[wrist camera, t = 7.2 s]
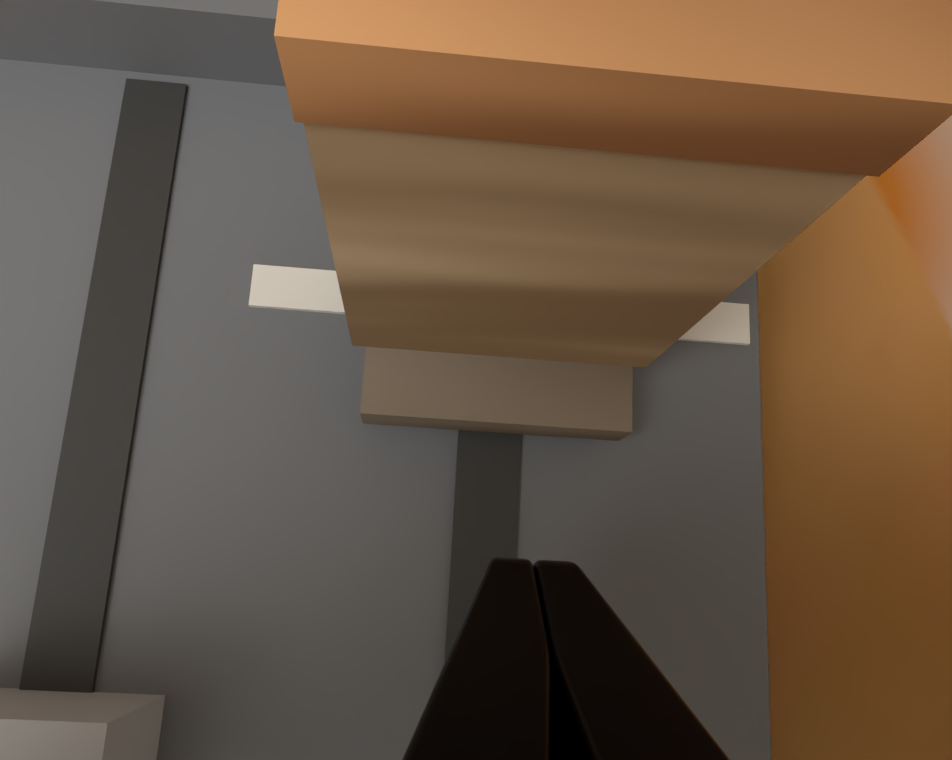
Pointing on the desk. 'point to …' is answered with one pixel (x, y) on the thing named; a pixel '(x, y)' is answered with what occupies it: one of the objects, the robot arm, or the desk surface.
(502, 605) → the robot arm
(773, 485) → the desk surface
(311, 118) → the block
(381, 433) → the console
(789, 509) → the desk surface
